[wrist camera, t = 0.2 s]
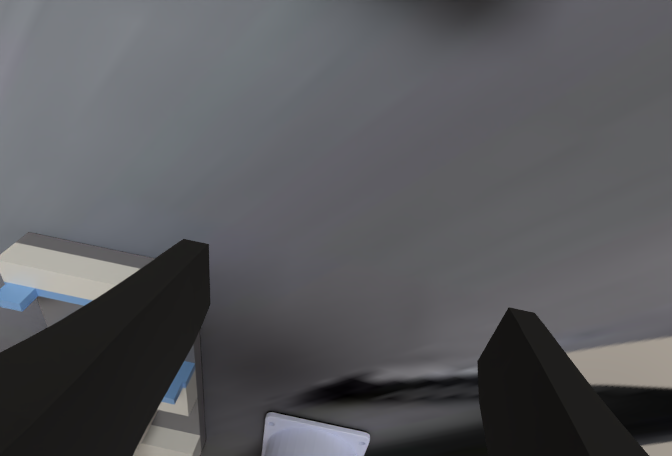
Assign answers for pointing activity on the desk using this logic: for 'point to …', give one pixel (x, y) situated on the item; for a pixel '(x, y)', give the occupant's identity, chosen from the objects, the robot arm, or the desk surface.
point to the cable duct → (83, 287)
